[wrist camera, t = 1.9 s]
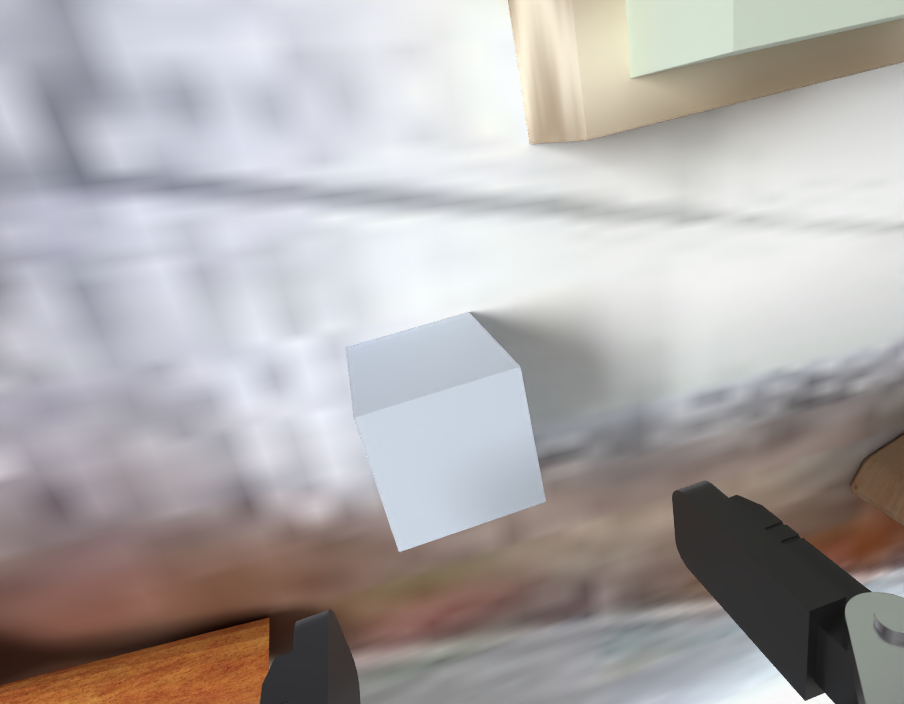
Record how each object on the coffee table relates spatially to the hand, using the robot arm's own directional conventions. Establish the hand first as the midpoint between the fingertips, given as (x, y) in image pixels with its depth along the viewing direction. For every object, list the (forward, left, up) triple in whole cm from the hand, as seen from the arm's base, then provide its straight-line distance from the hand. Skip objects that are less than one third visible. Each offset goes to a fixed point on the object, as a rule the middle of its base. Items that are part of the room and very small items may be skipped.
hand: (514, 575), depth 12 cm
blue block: (0, 0, -11) cm, 11 cm away
